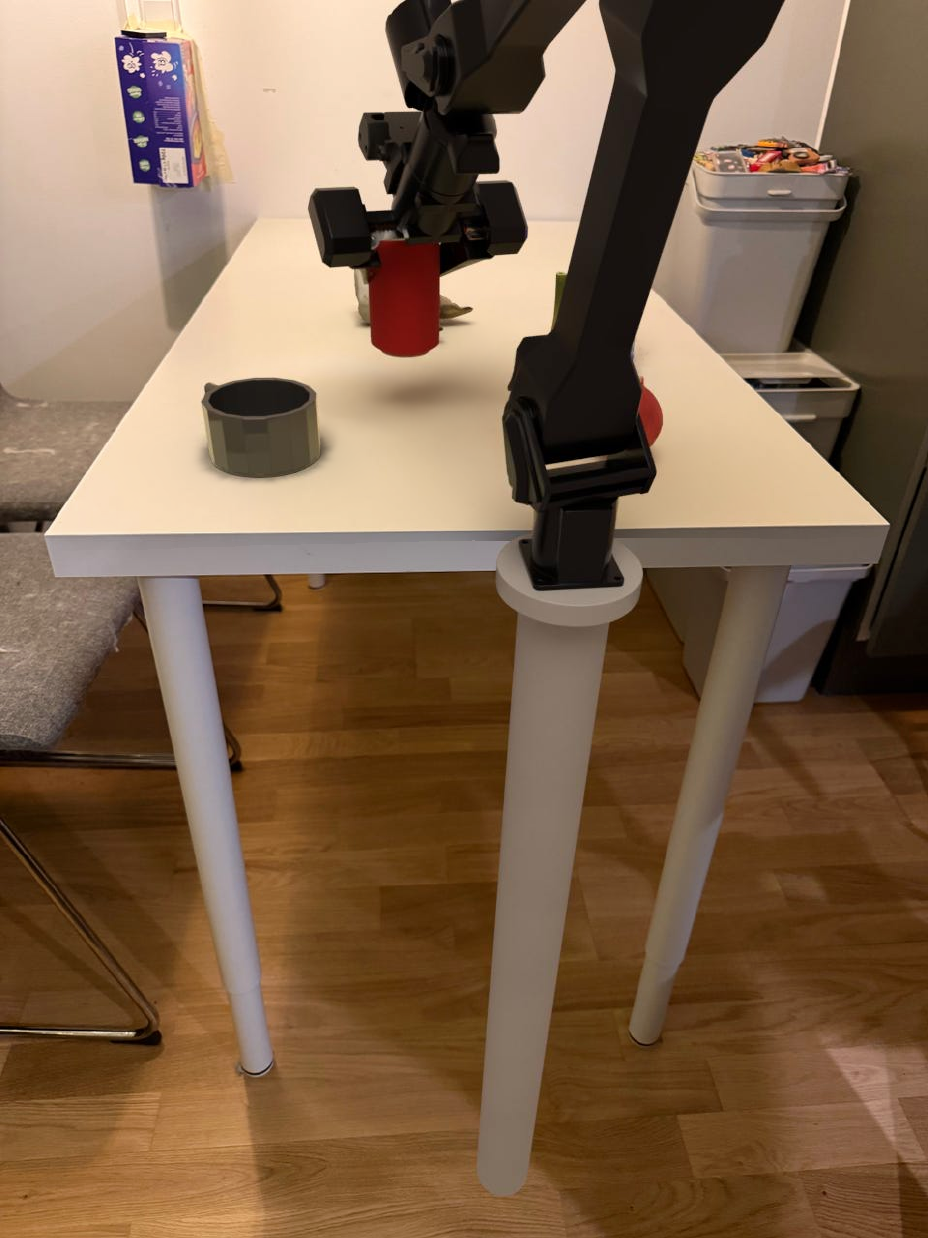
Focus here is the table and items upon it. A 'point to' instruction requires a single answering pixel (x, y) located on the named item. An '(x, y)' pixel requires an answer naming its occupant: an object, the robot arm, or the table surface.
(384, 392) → the table surface
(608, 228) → the robot arm
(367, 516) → the table surface
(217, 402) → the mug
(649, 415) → the onion
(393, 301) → the beverage can
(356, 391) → the table surface
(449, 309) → the ceramic sculpture
